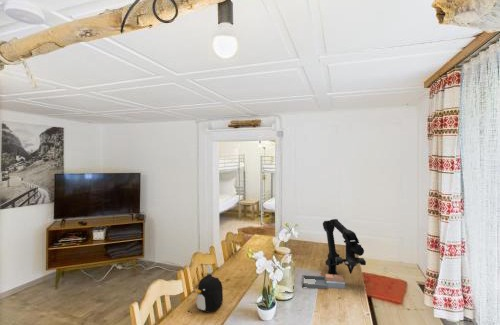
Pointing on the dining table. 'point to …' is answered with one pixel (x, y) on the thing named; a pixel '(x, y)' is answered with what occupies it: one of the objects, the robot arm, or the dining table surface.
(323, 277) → the tray
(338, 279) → the tile
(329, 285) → the light grey slab
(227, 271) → the dining table surface
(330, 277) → the tile
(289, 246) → the dining table surface
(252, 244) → the dining table surface
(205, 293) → the penguin
